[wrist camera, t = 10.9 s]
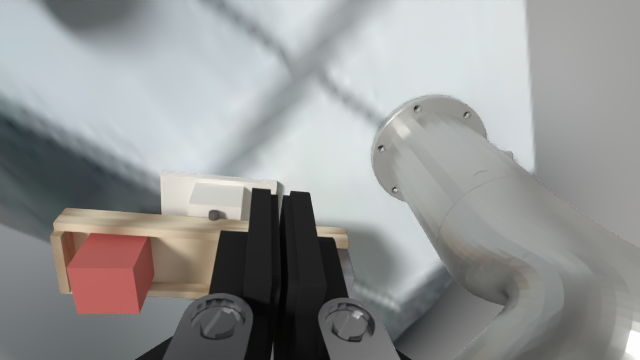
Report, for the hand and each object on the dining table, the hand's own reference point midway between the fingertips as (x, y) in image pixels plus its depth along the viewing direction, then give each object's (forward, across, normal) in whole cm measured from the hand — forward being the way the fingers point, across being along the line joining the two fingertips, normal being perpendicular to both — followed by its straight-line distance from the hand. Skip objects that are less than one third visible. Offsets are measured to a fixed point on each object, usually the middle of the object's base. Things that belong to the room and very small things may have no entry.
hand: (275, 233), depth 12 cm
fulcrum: (+29, +4, +19) cm, 35 cm away
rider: (+22, +12, +19) cm, 31 cm away
